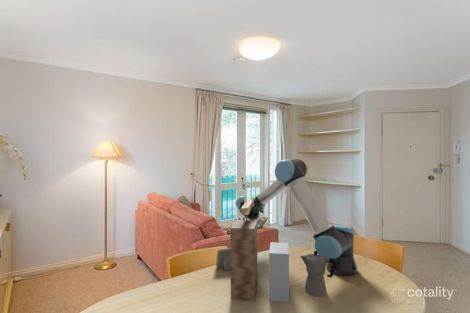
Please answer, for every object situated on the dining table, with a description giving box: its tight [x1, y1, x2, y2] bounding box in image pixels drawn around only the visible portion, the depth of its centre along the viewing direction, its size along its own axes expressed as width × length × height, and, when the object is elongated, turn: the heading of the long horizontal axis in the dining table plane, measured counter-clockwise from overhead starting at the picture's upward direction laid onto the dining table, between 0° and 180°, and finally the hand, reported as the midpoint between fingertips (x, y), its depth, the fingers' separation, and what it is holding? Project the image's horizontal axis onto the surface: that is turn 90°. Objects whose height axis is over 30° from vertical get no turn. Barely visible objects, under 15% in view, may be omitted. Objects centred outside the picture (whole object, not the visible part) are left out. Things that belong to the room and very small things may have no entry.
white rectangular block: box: [268, 241, 290, 303], centre depth 120 cm, size 8×14×20 cm, turn 170°
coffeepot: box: [300, 250, 337, 298], centre depth 121 cm, size 15×9×18 cm, turn 69°
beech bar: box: [240, 198, 253, 216], centre depth 133 cm, size 3×24×3 cm, turn 171°
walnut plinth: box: [230, 219, 259, 302], centre depth 122 cm, size 10×14×30 cm
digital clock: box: [215, 247, 231, 271], centre depth 149 cm, size 16×9×11 cm, turn 96°
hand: (248, 199), depth 137 cm, fingers closed on beech bar, 3 cm apart
